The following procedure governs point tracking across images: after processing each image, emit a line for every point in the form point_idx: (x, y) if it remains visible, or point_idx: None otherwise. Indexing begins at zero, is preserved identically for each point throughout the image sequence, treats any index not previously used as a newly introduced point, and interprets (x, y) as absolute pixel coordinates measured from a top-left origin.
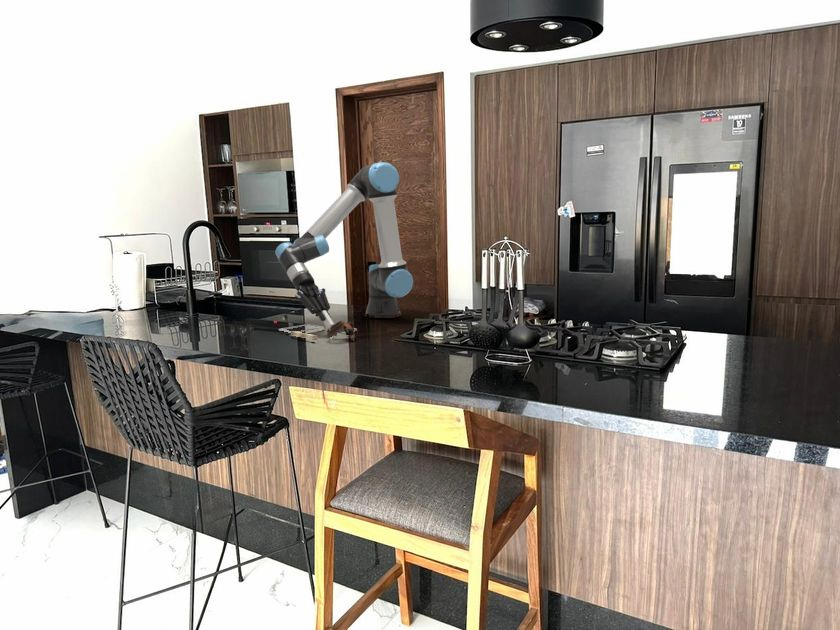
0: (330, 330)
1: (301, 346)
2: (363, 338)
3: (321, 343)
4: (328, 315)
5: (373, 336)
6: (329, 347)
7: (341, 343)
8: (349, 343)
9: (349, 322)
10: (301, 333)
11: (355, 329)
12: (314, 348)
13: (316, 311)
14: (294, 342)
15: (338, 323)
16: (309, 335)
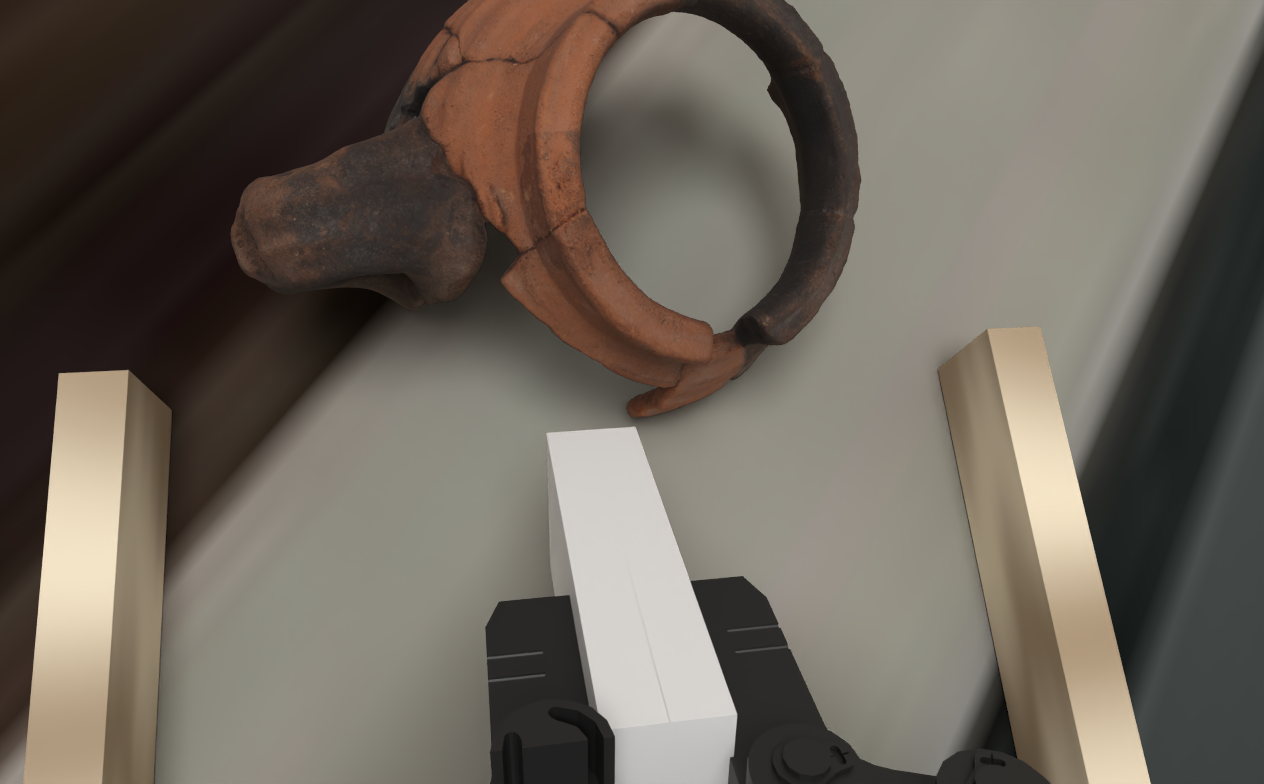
0: (853, 125)
1: (1210, 321)
2: (236, 152)
3: (911, 294)
4: (588, 582)
5: (4, 159)
6: (942, 39)
7: (696, 111)
8: (615, 41)
9: (345, 147)
10: (1128, 697)
11: (105, 375)
12: (1114, 117)
13: (925, 777)
14: (1206, 633)
15: (582, 218)
16: (1068, 456)
